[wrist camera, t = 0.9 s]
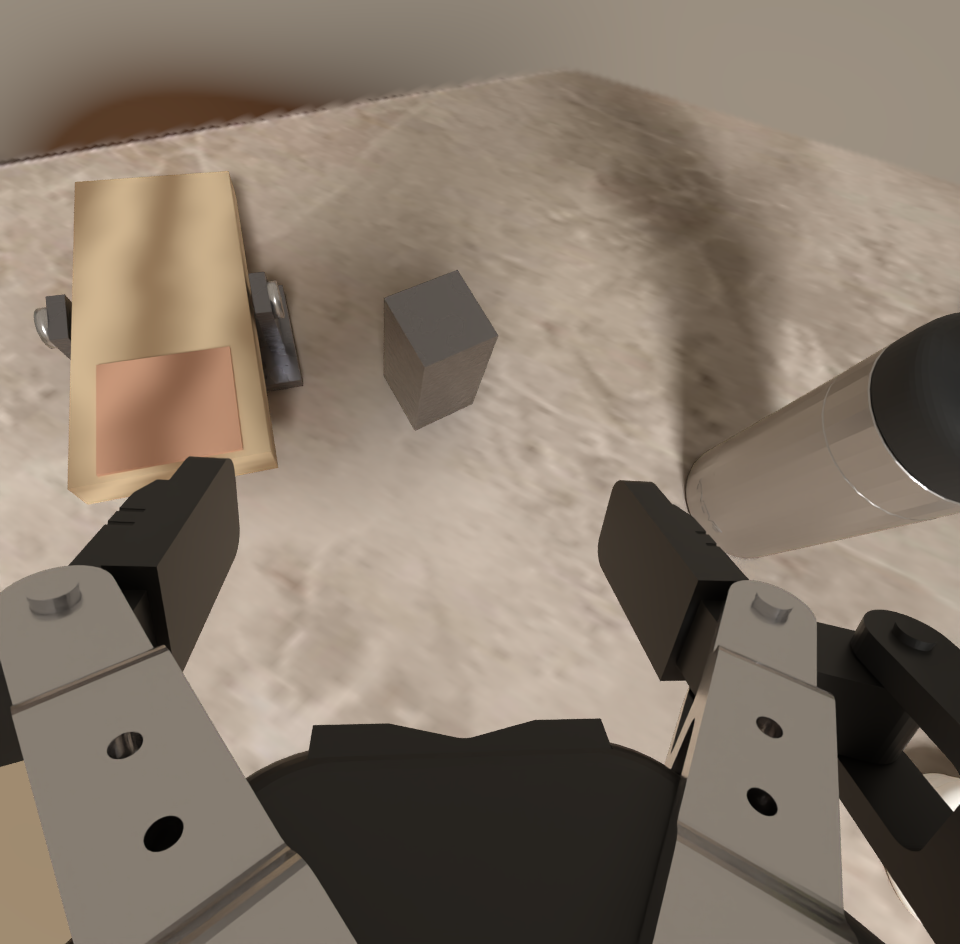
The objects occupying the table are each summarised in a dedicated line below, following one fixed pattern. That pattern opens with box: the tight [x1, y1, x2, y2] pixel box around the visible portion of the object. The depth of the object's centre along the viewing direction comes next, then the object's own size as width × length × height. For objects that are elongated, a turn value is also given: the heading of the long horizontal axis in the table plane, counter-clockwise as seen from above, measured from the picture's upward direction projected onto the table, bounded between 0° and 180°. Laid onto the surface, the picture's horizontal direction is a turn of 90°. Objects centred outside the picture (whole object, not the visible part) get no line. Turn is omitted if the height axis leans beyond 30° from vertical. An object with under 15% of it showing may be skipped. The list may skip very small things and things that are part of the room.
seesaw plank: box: [68, 171, 278, 504], centre depth 35 cm, size 10×24×2 cm, turn 15°
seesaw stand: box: [34, 272, 303, 392], centre depth 37 cm, size 14×8×6 cm, turn 105°
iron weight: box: [384, 270, 498, 430], centre depth 37 cm, size 5×5×10 cm
